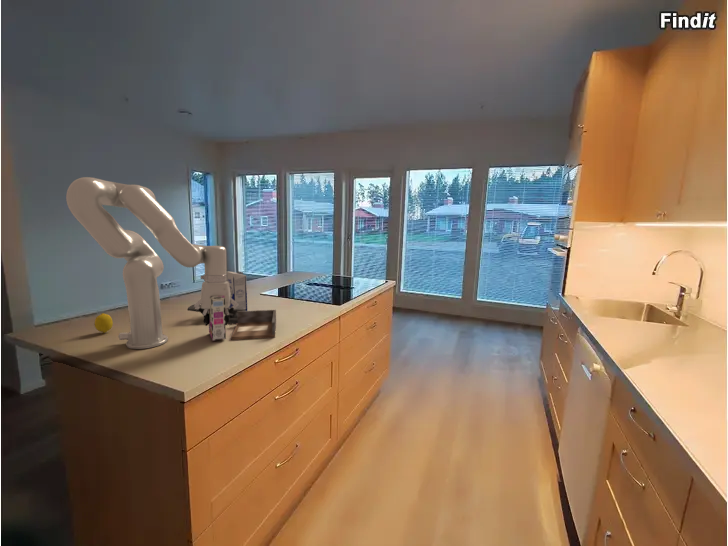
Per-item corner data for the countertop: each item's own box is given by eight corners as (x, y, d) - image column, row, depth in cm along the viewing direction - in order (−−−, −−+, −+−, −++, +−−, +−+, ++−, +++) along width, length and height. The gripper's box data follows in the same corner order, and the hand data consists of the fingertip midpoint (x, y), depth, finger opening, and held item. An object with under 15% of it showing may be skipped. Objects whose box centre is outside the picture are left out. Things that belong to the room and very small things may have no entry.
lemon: (117, 331, 129) (115, 312, 128) (102, 336, 124) (100, 316, 123) (106, 329, 131) (104, 310, 129) (92, 334, 125) (89, 314, 124)
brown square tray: (231, 340, 123) (230, 324, 122) (238, 325, 141) (237, 311, 140) (275, 337, 127) (274, 322, 126) (276, 323, 144) (275, 309, 143)
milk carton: (228, 310, 162) (226, 270, 159) (241, 308, 167) (240, 269, 164) (233, 313, 157) (232, 272, 154) (247, 311, 162) (246, 271, 158)
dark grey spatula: (195, 303, 149) (249, 304, 150) (195, 317, 150) (250, 318, 151) (184, 308, 141) (243, 309, 141) (185, 323, 142) (243, 324, 142)
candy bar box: (226, 339, 122) (225, 297, 120) (212, 341, 120) (210, 298, 117) (222, 330, 132) (220, 290, 129) (208, 332, 129) (206, 292, 127)
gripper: (187, 280, 117) (189, 328, 119) (238, 280, 121) (239, 326, 123) (193, 276, 124) (194, 322, 127) (241, 277, 128) (241, 320, 131)
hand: (216, 324), depth 125 cm, fingers closed on candy bar box, 6 cm apart
